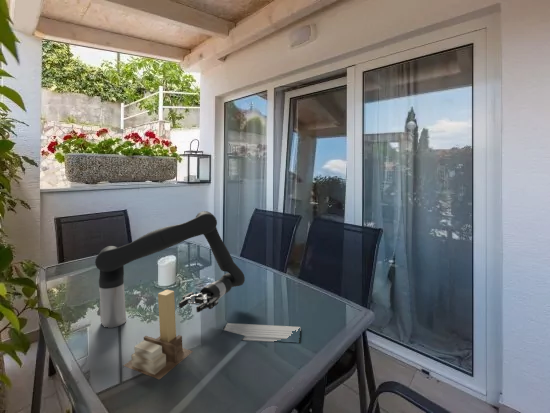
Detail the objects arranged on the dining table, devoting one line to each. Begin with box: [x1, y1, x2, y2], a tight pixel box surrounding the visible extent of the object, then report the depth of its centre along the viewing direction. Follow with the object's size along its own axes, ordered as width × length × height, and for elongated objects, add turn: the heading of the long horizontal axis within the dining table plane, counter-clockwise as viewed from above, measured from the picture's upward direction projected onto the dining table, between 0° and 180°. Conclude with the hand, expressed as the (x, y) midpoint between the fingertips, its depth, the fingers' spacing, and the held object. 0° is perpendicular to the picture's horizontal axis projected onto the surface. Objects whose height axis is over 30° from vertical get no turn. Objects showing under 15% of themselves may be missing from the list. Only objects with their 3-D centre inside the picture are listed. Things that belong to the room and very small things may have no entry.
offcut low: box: [130, 352, 166, 375], centre depth 101 cm, size 10×5×4 cm, turn 66°
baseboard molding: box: [220, 322, 301, 343], centre depth 122 cm, size 31×3×12 cm
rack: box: [122, 334, 194, 380], centre depth 105 cm, size 16×16×8 cm
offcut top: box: [133, 339, 162, 361], centre depth 100 cm, size 8×4×3 cm, turn 66°
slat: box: [157, 288, 177, 343], centre depth 108 cm, size 4×4×22 cm
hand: (188, 307), depth 118 cm, fingers open, 8 cm apart
